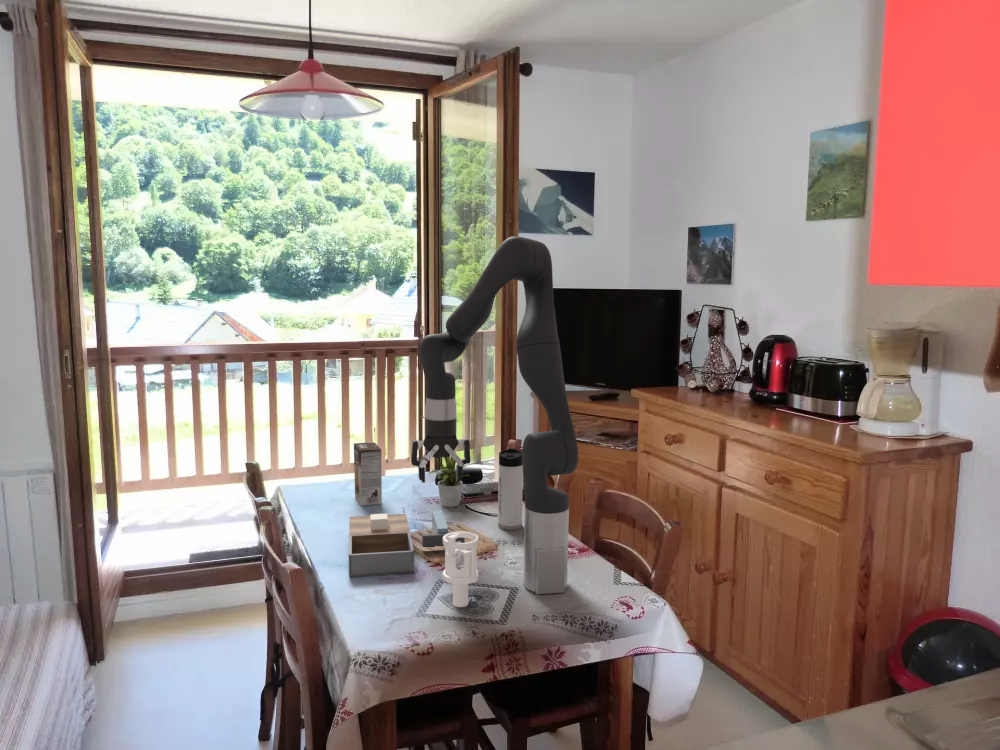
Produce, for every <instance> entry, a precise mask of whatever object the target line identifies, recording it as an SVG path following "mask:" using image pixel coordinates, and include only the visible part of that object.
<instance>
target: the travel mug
mask: <svg viewBox="0 0 1000 750" xmlns="http://www.w3.org/2000/svg"><path fill="white" fill-rule="evenodd" d="M497 480H498V481H497V482H498V483H497V484H498V485H497V486H498V492H497V493H498V494H497V496H498V498H497V499H498V500H497V501H498V503H497V506H498V507H497V511H498V513H497V526H498V528H499V529H501V530H504V529H505V531H515V530H519V529H521V528H522V527H523V464H522V450H517V449H516V448H508V449H504V450H501V451H499V452H498V479H497Z"/></svg>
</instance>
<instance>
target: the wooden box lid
mask: <svg viewBox="0 0 1000 750" xmlns="http://www.w3.org/2000/svg"><path fill="white" fill-rule="evenodd" d="M387 517H388V529H378V530H371V526H370V515H359V516H357V515H356V516H349V518H348V519H349V523H348V525H349V527H348V531H349V532H348V535H349V536H352V554H362V553H379V552H396V551H408V540H407V533H410V534H411V531H410V527H409V522H408V517H407V513H403V514H402V513H399V514H387ZM349 536H348V537H349Z"/></svg>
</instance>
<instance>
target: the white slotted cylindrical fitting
mask: <svg viewBox="0 0 1000 750" xmlns="http://www.w3.org/2000/svg"><path fill="white" fill-rule="evenodd" d="M450 532H451V533H448V534H446V535H444V536H443V545H444V546H445V551H444V570H443V571H442V580H443V581H444V582H445V583H447V584H451V585H452V605H453V606H454V607H456V608H464V607H467V606H468V605H469V584H473V583H476V582H477V581H478V579H479V571H478V569H477V565H478V562H477V560H478V559H477V552H478V551H477V549H478V548H477V546H478V545H479V535H478V534H476V533H474V532H469V531H462V530H461V531H450ZM459 537H463V538H465V539H471V541H468V542H465V543H461V542H455V539H457V538H459Z"/></svg>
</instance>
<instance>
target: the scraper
mask: <svg viewBox="0 0 1000 750" xmlns="http://www.w3.org/2000/svg"><path fill="white" fill-rule="evenodd" d="M432 529H433V530H434V533H433V532H432V533H421V540H422V541H421V546H423V547H435V546H444V545H443V536H444V535H446V534H448V533H451V532H452V531H449V526H448V524H447V522H446V518H445V515H444V513H443V510H440V509H438V510H437V509H436V510H432V511H431V530H432ZM433 530H432V531H433ZM465 540H466V538H463V537H459V538H457V539H455V542H461V543H466V542H465Z"/></svg>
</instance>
